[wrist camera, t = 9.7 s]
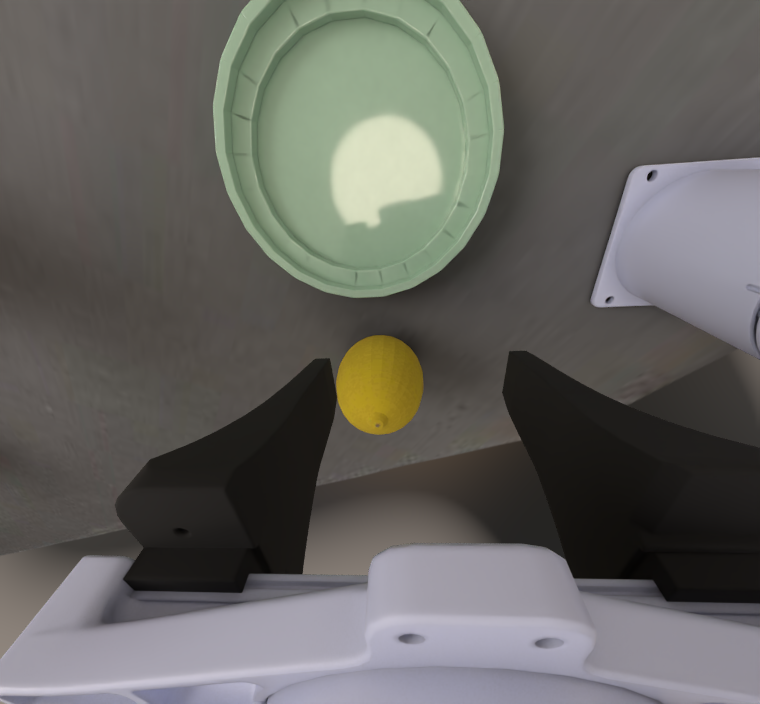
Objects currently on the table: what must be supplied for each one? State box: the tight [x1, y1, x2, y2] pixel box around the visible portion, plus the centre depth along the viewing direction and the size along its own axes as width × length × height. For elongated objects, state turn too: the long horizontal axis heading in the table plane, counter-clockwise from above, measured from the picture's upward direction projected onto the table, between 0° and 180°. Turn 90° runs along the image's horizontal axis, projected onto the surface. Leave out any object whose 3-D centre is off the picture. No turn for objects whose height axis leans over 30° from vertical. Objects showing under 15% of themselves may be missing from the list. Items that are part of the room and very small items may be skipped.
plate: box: [213, 0, 504, 298], centre depth 16 cm, size 14×14×2 cm
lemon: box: [336, 335, 423, 435], centre depth 20 cm, size 6×6×8 cm
